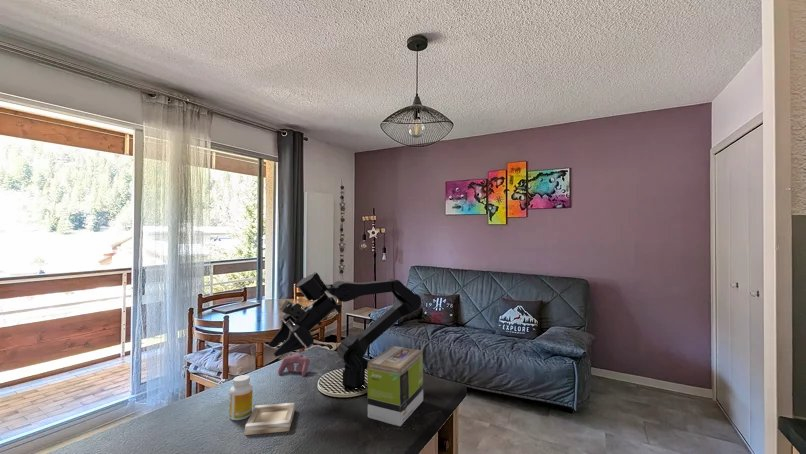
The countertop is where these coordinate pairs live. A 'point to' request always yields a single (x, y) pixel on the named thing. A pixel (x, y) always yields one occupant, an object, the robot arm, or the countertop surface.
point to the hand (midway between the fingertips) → (272, 350)
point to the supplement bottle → (240, 398)
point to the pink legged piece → (292, 359)
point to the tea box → (395, 384)
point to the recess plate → (270, 418)
